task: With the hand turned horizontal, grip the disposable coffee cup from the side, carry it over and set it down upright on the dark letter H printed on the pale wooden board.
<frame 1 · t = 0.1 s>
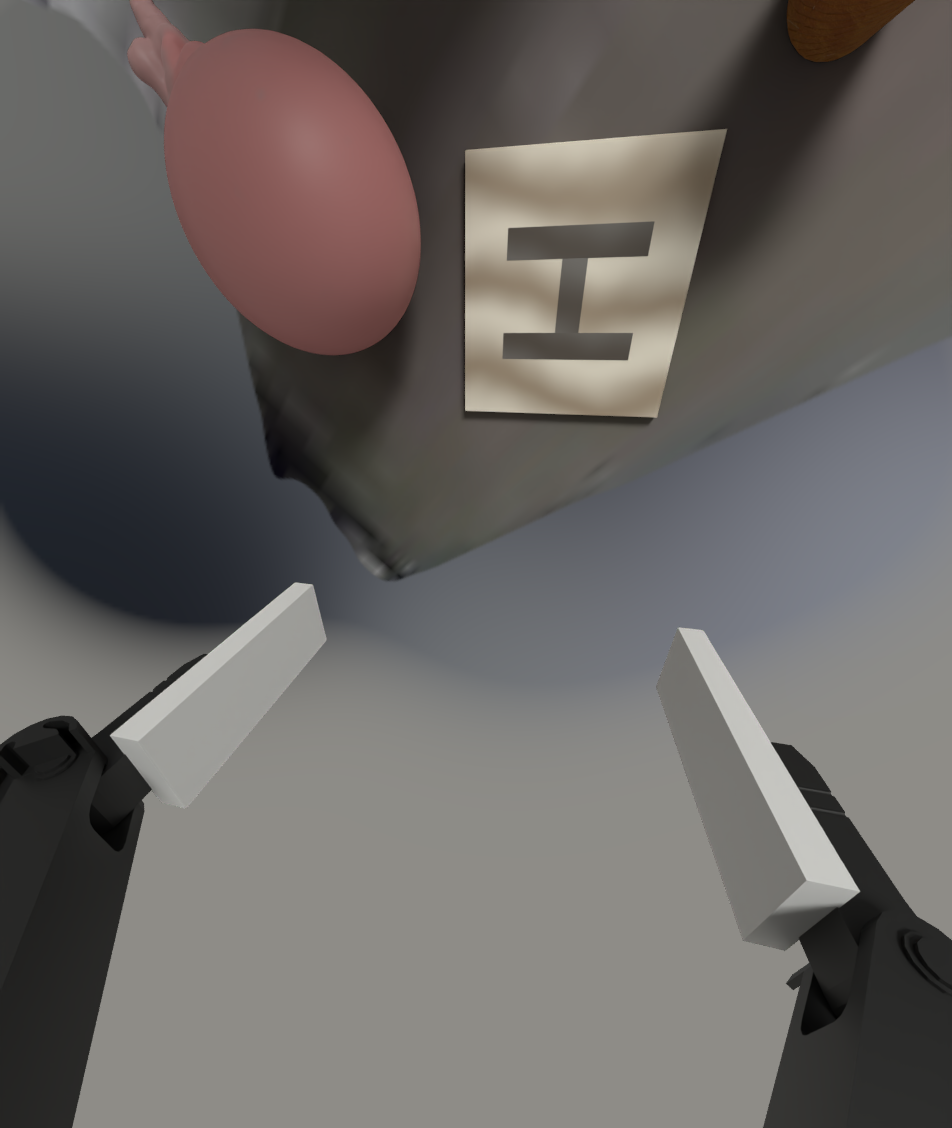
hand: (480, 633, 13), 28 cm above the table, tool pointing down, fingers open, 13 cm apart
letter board: (570, 298, 30), on the table
balloon: (345, 232, 31), on the table
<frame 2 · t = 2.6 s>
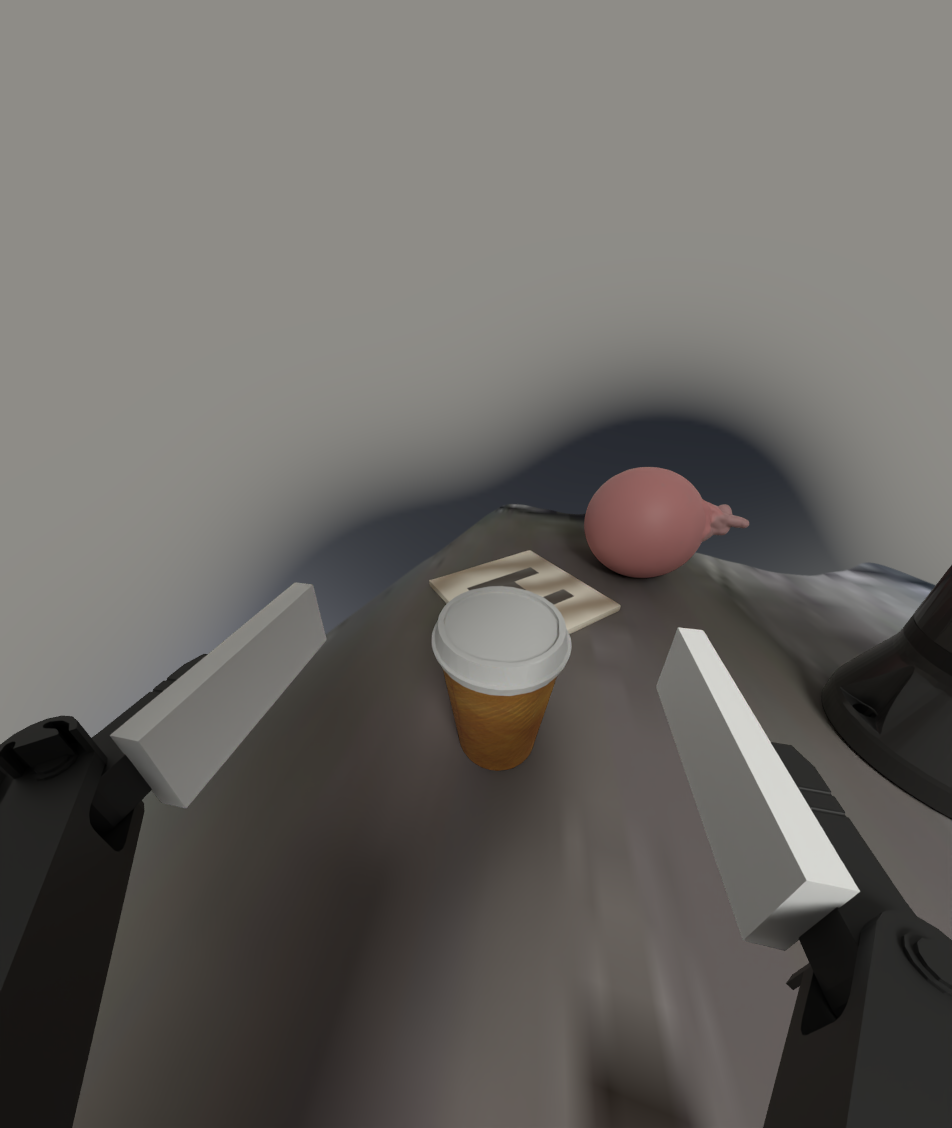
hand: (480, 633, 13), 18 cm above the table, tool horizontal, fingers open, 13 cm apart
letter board: (519, 597, 47), on the table
disposable coffee cup: (496, 735, 30), on the table
balloon: (645, 574, 52), on the table
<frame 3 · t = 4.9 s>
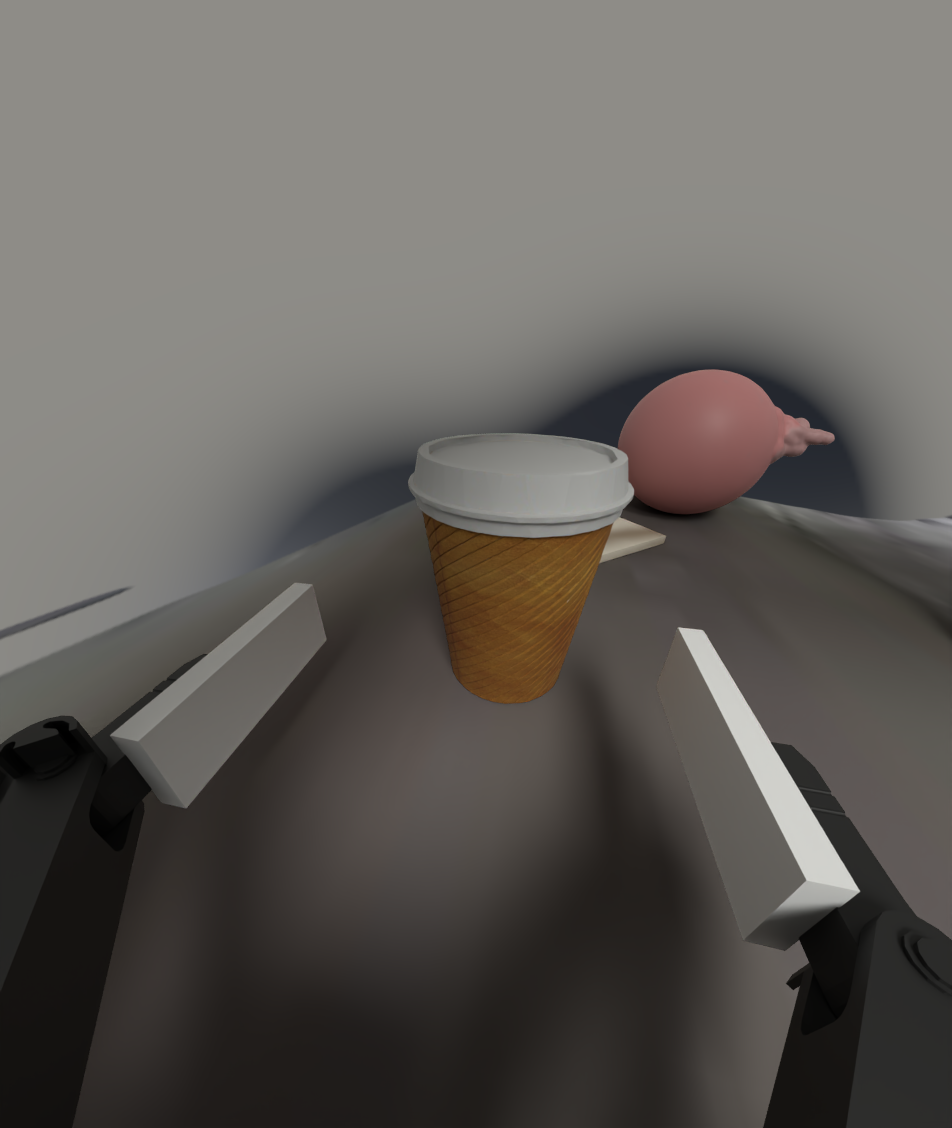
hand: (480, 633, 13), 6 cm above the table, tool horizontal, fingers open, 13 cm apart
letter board: (536, 528, 38), on the table
disposable coffee cup: (504, 662, 21), on the table
balloon: (691, 514, 43), on the table
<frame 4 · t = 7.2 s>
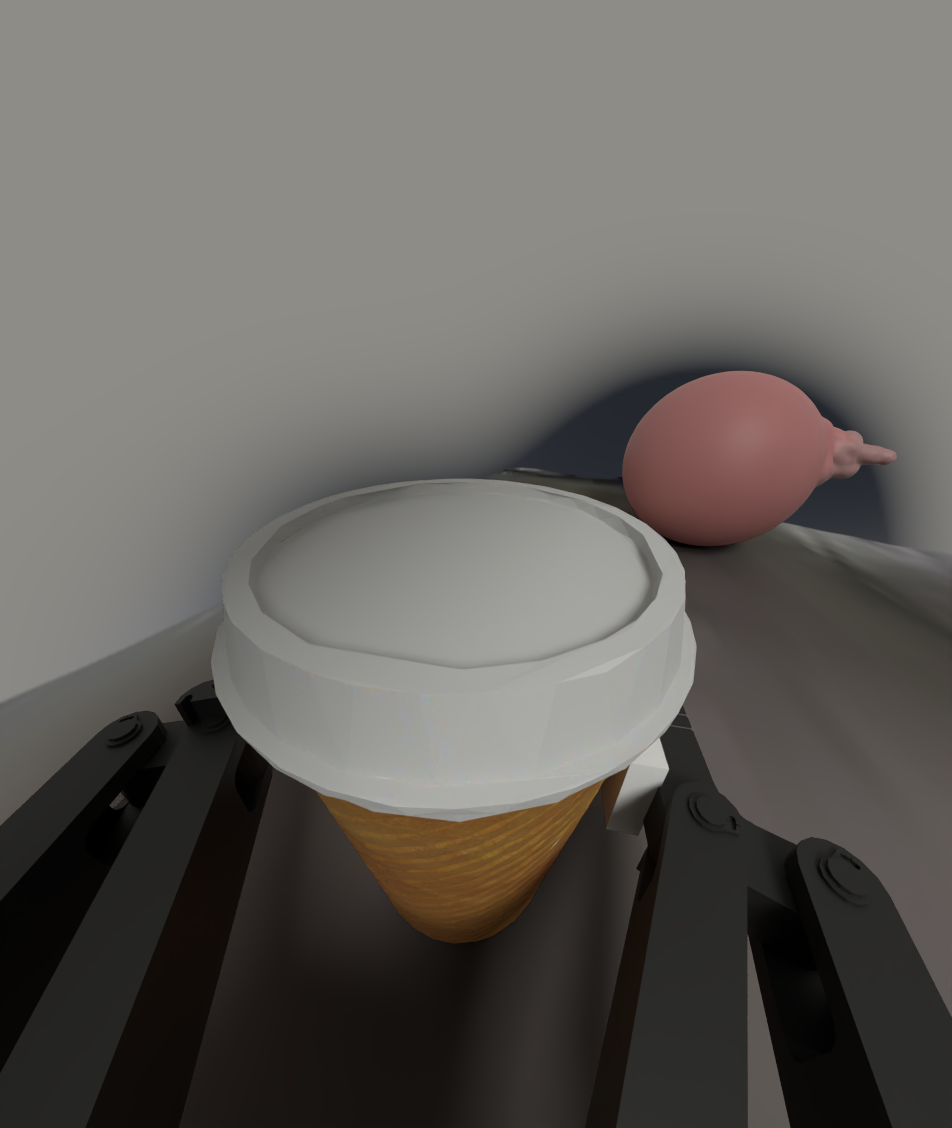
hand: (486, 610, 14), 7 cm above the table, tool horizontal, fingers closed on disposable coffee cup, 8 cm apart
disposable coffee cup: (462, 827, 13), on the table, touching gripper
balloon: (711, 544, 36), on the table
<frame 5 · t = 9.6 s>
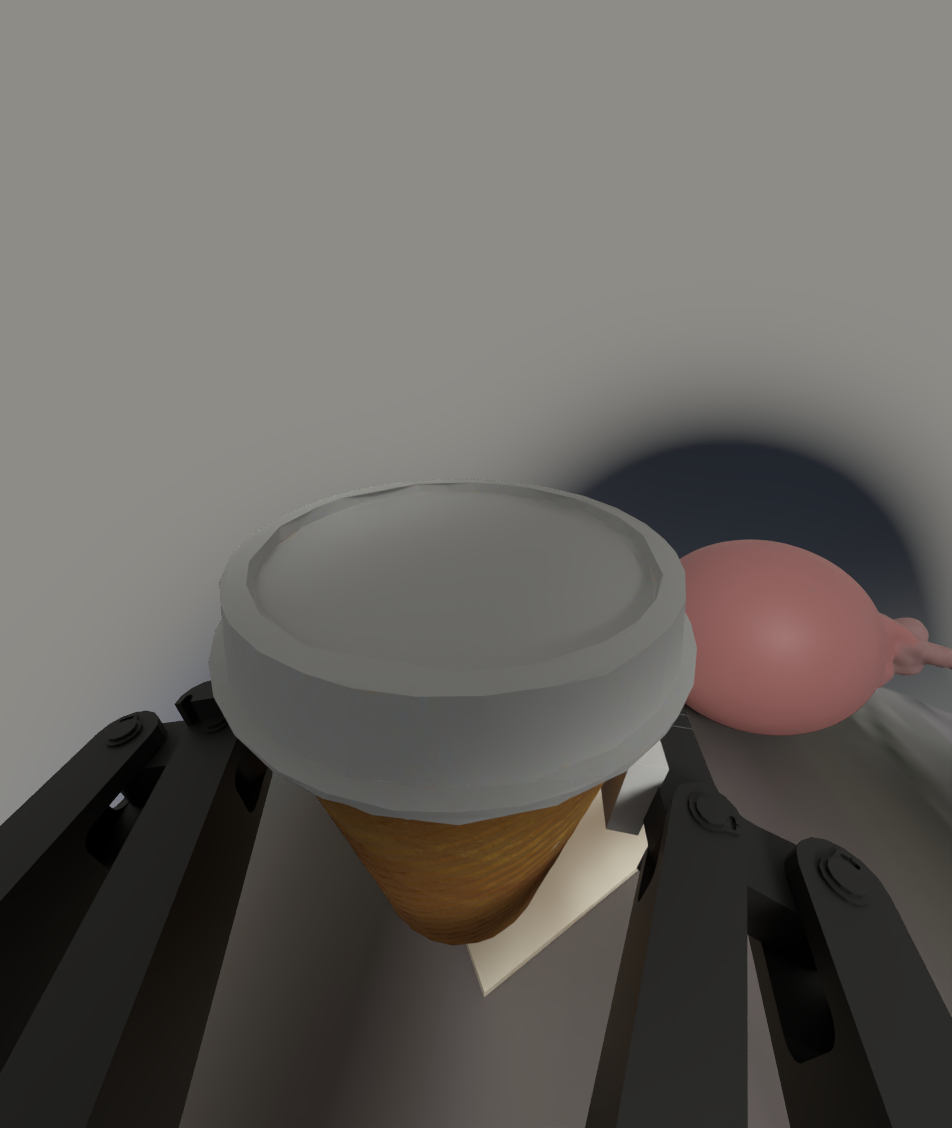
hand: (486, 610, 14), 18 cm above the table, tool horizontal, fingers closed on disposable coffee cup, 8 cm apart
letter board: (529, 754, 27), on the table
disposable coffee cup: (462, 828, 13), point 11 cm above the table, touching gripper
balloon: (741, 708, 32), on the table
when the fingers open (9 cm above the table, at t = 12.4 s): disposable coffee cup drops 1 cm, resting on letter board.
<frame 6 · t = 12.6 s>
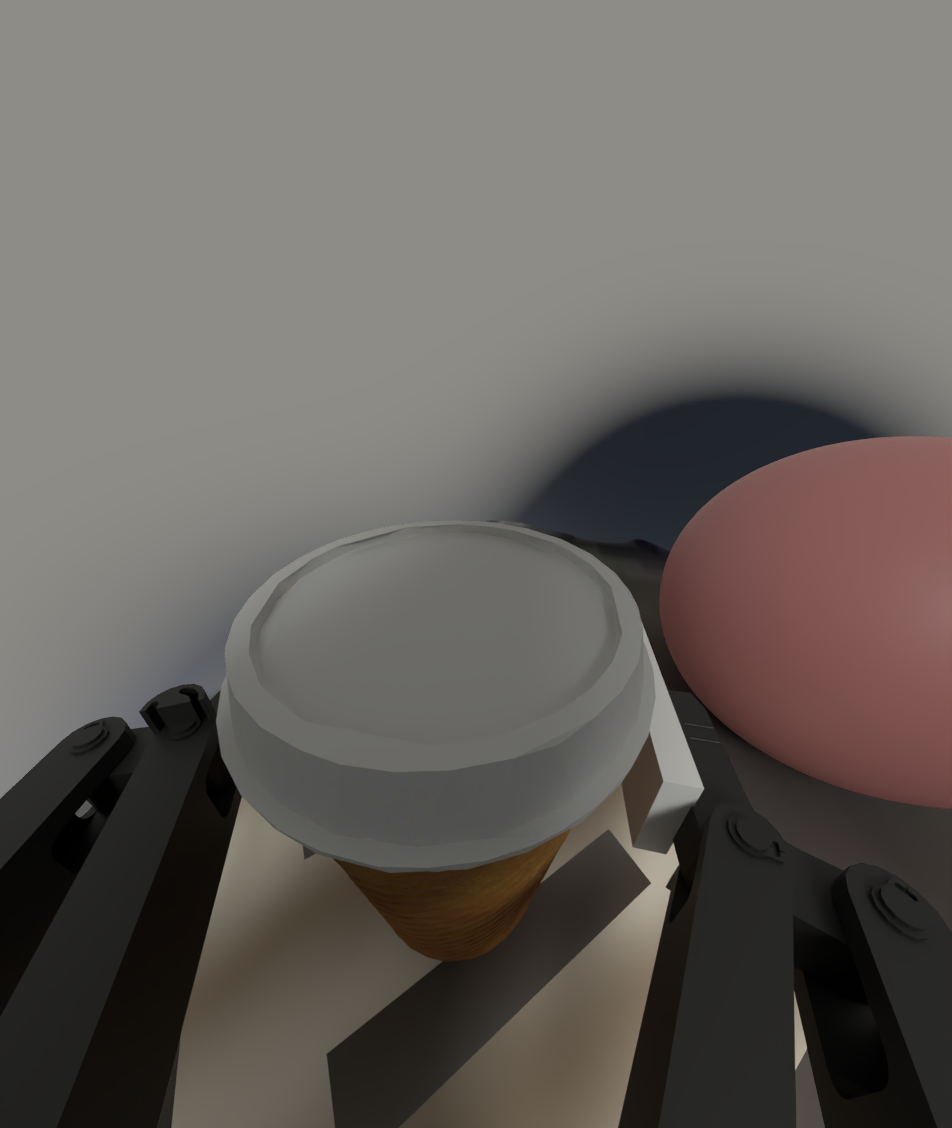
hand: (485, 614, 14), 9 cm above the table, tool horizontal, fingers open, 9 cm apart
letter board: (462, 853, 14), on the table
disposable coffee cup: (456, 847, 14), point 1 cm above the table, touching gripper, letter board
balloon: (824, 737, 19), on the table
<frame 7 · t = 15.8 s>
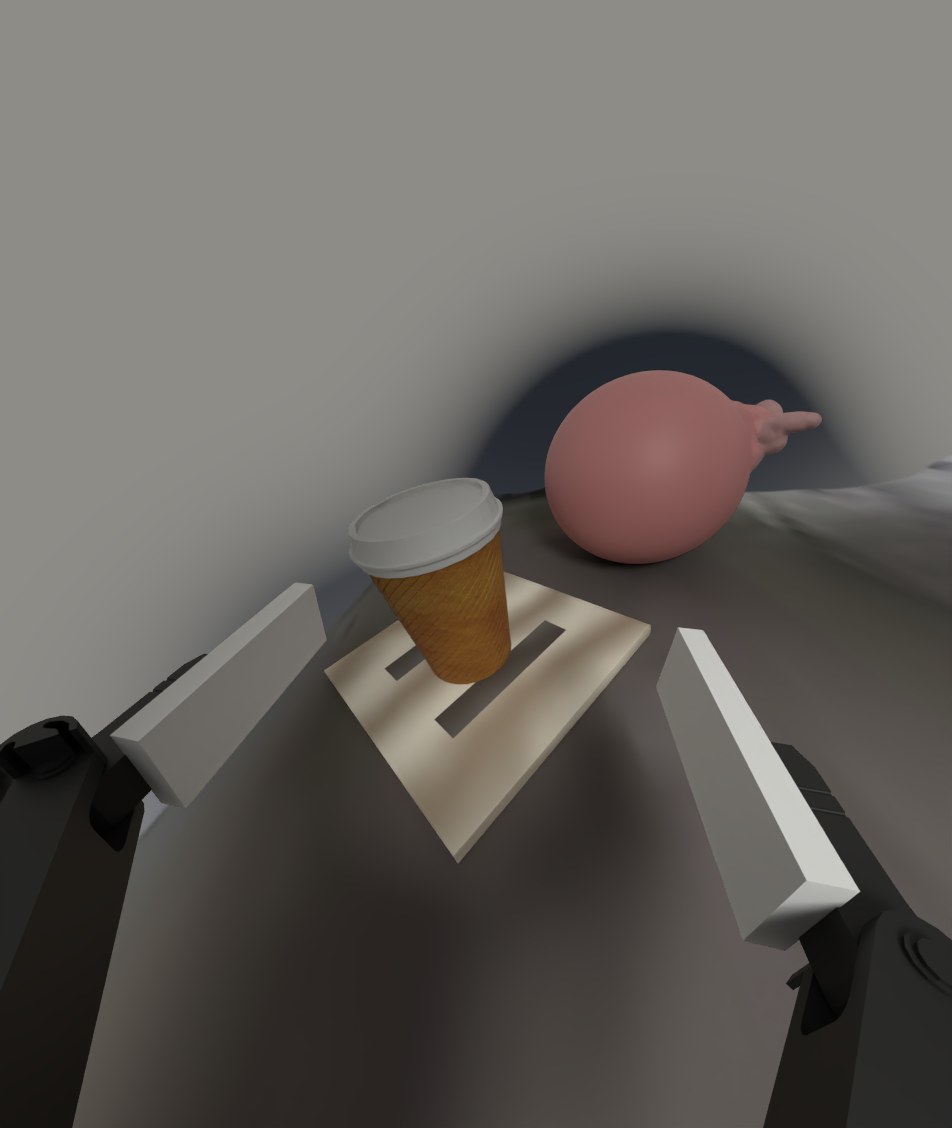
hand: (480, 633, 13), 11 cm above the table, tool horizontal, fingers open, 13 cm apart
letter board: (475, 657, 27), on the table
disposable coffee cup: (471, 653, 27), point 1 cm above the table, touching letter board
balloon: (665, 550, 33), on the table
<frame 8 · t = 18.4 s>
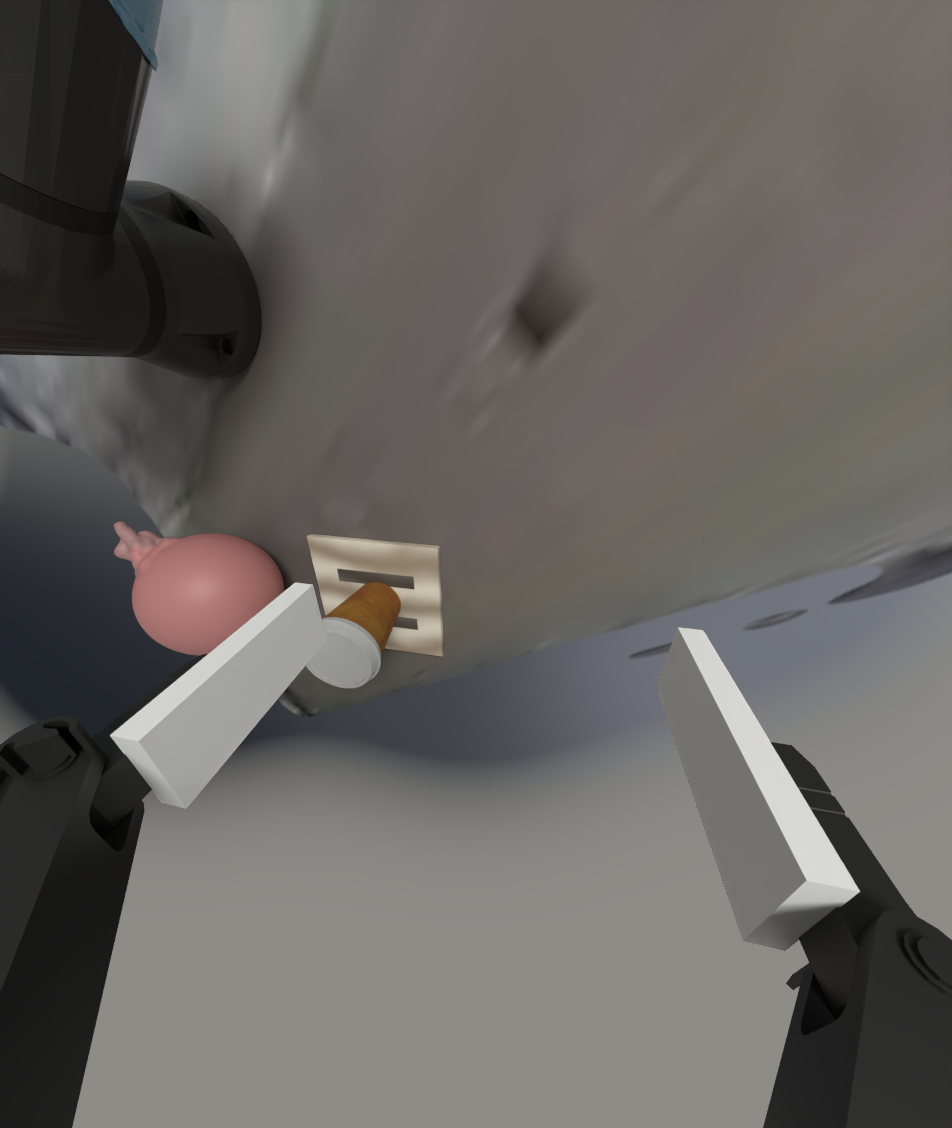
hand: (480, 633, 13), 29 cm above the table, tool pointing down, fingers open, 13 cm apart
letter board: (380, 596, 50), on the table
disposable coffee cup: (380, 599, 50), point 1 cm above the table, touching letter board
balloon: (248, 552, 51), on the table
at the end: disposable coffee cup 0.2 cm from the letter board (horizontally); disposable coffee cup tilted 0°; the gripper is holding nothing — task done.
